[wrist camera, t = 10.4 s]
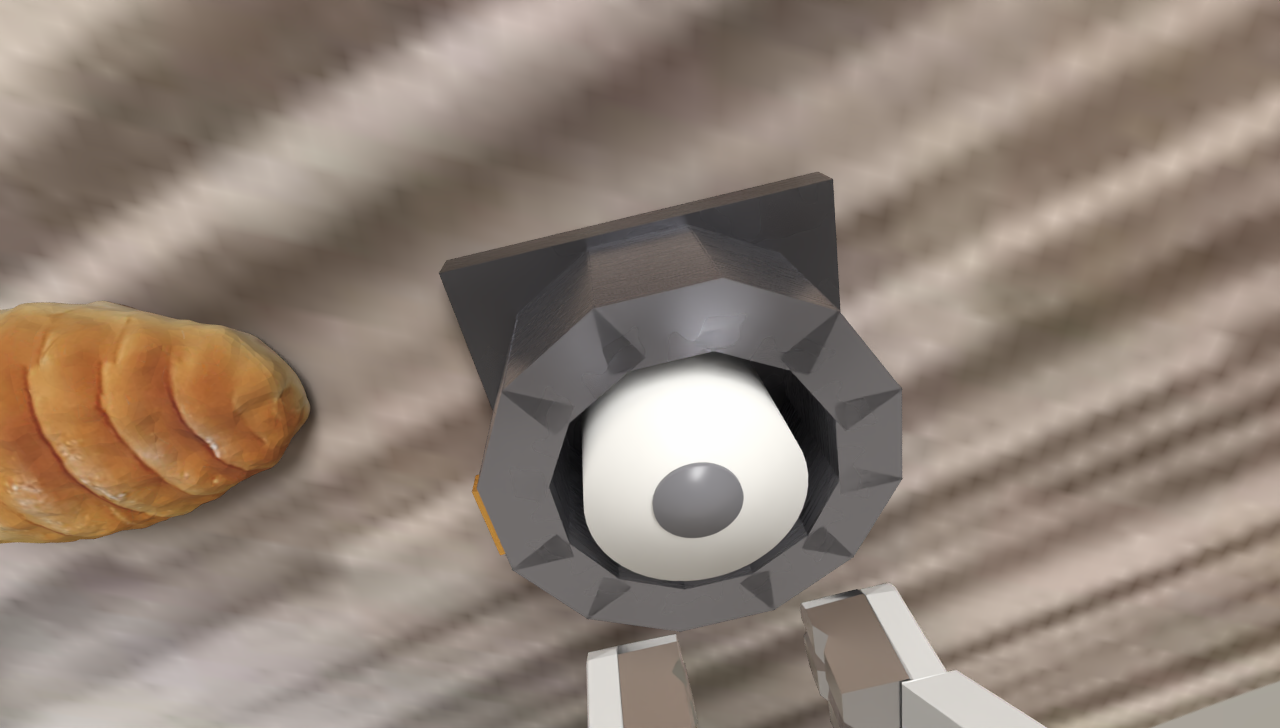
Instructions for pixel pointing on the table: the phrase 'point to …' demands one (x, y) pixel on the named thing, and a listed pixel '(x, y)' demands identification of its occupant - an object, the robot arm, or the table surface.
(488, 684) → the table surface
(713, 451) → the cylinder with grey knob
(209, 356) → the pastry
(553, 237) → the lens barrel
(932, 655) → the robot arm
